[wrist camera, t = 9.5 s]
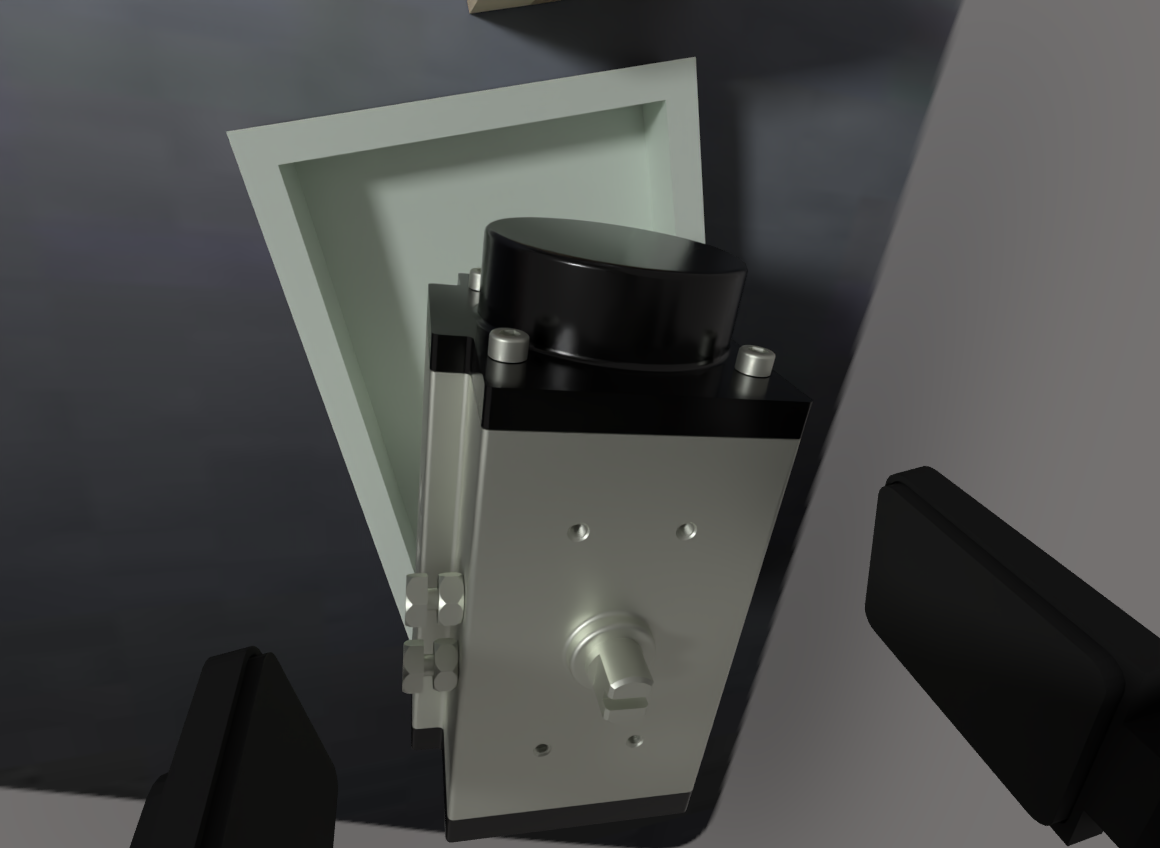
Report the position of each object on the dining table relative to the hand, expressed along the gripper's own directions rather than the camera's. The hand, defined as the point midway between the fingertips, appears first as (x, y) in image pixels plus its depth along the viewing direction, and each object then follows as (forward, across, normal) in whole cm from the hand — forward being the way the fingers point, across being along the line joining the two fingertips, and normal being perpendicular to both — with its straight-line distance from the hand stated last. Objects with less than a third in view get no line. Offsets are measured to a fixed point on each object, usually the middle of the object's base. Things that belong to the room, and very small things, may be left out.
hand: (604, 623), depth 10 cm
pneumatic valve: (+11, 0, +1) cm, 11 cm away
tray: (+12, 0, +1) cm, 12 cm away
